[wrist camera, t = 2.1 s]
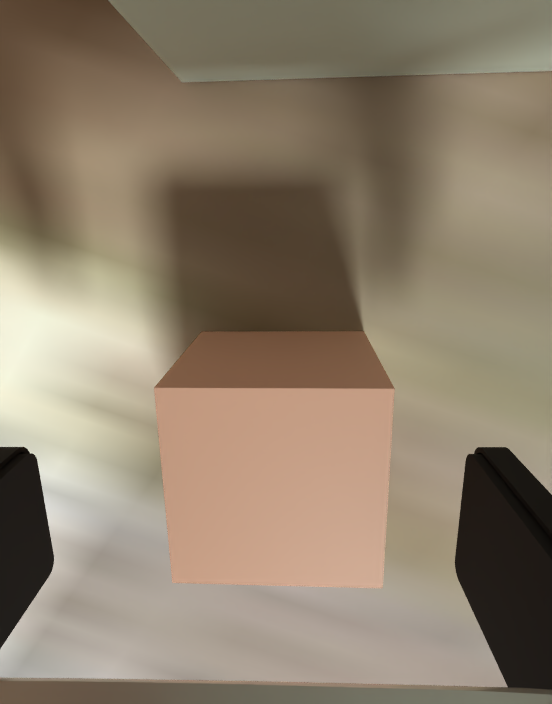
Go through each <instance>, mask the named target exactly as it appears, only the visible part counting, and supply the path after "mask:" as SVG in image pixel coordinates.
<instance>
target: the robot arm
mask: <svg viewBox="0 0 552 704" xmlns="http://www.w3.org/2000/svg"><path fill="white" fill-rule="evenodd" d="M53 564H54V555H53V549H52V543H51V537H50V532H49V526H48V520H47V514H46V509H45V503H44V497H43V491H42V486H41V480H40V474H39V468H38V463H37V459H36V457H35V455H34V454H30V453H29V451H28V449H26V448H25V447H0V648H1V647H2V645H3V644H4V642H5V641H6V639H7V638H8V636H9V635H10V633H11V632H12V630H13V629H14V628H15V626H16V625H17V623H18V622H19V620H20V619H21V617H22V616H23V614H24V613H25V611H26V610H27V608H28V607H29V605H30V604H31V602H32V601H33V599H34V598H35V596H36V595H37V593H38V592H39V590H40V589H41V587H42V586H43V584H44V583H45V581H46V580H47V578H48V577H49V575H50V573H51V571H52V568H53ZM455 568H456V573H457V577H458V580H459V582H460V584H461V586H462V588H463V591H464V593H465V595H466V597H467V599H468V601H469V604H470V606H471V608H472V610H473V612H474V614H475V617H476V619H477V621H478V623H479V625H480V627H481V630H482V632H483V634H484V636H485V638H486V640H487V643H488V645H489V647H490V649H491V651H492V653H493V656H494V658H495V660H496V662H497V664H498V666H499V669H500V671H501V673H502V675H503V677H504V679H505V682H506V684H507V686H508V687H471V686H437V685H394V684H351V683H309V682H262V681H207V680H148V679H84V678H0V704H552V495H551V494H550V493H549V492H548V490H547V489H546V488H545V487H544V486H543V485H542V484H541V483H540V482H539V481H538V480H537V479H536V478H535V477H534V476H533V474H532V473H531V472H530V471H529V470H528V469H527V468H526V467H525V466H524V465H523V464H522V463H521V462H520V461H519V460H518V458H517V457H516V456H515V455H514V454H513V453H512V452H511V451H510V450H509V449H508V448H506V447H478V448H477V449H476V450H475V453H474V454H469V455H468V456H467V458H466V464H465V473H464V482H463V491H462V501H461V510H460V519H459V528H458V538H457V547H456V556H455Z"/></svg>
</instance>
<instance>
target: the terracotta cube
mask: <svg viewBox="0 0 552 704" xmlns="http://www.w3.org/2000/svg"><path fill="white" fill-rule="evenodd" d="M394 390H395V389H394V387H393V385H392V383H391V381H390V379H389V377H388V376H387V374H386V372H385V370H384V368H383V366H382V364H381V363H380V361H379V359H378V357H377V355H376V353H375V351H374V349H373V348H372V346H371V344H370V342H369V340H368V338H367V336H366V334H365V333H364V331H242V332H201V333H200V334H199V335H198V336H197V338H196V339H195V340H194V341H193V342H192V344H191V345H190V346H189V347H188V348H187V349H186V351H185V352H184V353H183V354H182V355H181V357H180V358H179V359H178V360H177V361H176V363H175V364H174V365H173V366H172V367H171V368H170V370H169V371H168V372H167V373H166V374H165V376H164V377H163V378H162V379H161V380H160V382H159V383H158V384H157V385H156V386H155V387H154V392H155V402H156V413H157V423H158V434H159V445H160V455H161V466H162V476H163V487H164V498H165V508H166V519H167V529H168V540H169V551H170V561H171V572H172V582H173V583H199V584H237V585H275V586H314V587H352V588H383V574H384V557H385V540H386V524H387V507H388V490H389V473H390V457H391V440H392V423H393V406H394Z"/></svg>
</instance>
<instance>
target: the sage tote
mask: <svg viewBox="0 0 552 704" xmlns="http://www.w3.org/2000/svg"><path fill="white" fill-rule="evenodd" d="M108 1H109V2H110V3H111V4H112V5H113V6H114V8H115V9H116V10H117V11H118V12H119V13H120V14H121V15H122V16H123V18H124V19H125V20H126V21H127V22H128V23H129V24H130V25H131V26H132V27H133V29H134V30H135V31H136V32H137V33H138V34H139V35H140V36H141V37H142V39H143V40H144V41H145V42H146V43H147V44H148V45H149V46H150V47H151V49H152V50H153V51H154V52H155V53H156V54H157V55H158V56H159V57H160V58H161V60H162V61H163V62H164V63H165V64H166V65H167V66H168V67H169V68H170V70H171V71H172V72H173V73H174V74H175V75H176V76H177V77H178V78H179V80H180V81H181V82H211V81H243V80H275V79H307V78H339V77H372V76H404V75H436V74H468V73H500V72H532V71H552V0H108Z"/></svg>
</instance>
